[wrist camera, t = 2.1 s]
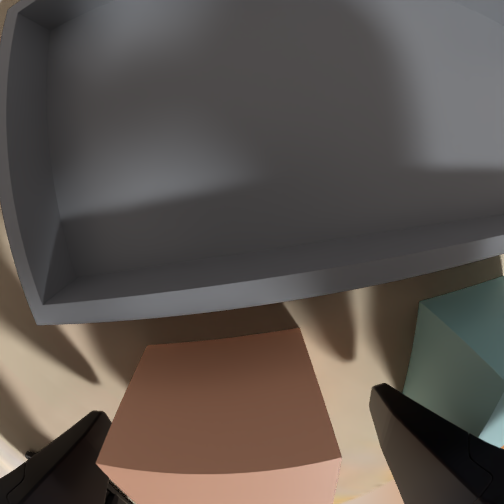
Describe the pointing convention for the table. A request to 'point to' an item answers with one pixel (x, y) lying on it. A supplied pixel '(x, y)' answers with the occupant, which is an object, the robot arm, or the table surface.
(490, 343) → the teal block
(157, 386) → the terracotta block
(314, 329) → the table surface
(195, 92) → the tray
